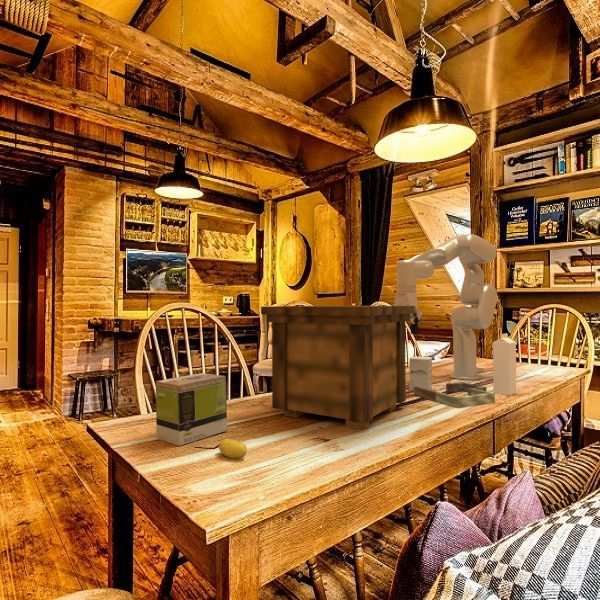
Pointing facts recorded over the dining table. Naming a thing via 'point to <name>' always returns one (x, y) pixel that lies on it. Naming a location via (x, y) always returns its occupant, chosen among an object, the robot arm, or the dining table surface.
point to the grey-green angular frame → (475, 397)
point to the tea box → (190, 407)
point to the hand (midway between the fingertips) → (406, 333)
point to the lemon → (232, 448)
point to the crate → (338, 360)
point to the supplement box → (420, 373)
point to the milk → (504, 366)
